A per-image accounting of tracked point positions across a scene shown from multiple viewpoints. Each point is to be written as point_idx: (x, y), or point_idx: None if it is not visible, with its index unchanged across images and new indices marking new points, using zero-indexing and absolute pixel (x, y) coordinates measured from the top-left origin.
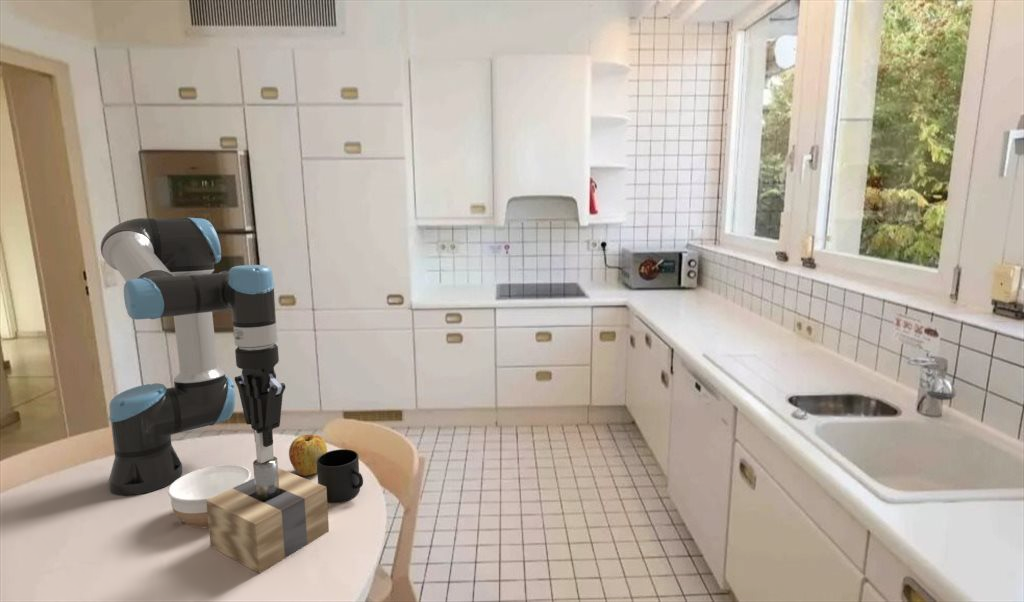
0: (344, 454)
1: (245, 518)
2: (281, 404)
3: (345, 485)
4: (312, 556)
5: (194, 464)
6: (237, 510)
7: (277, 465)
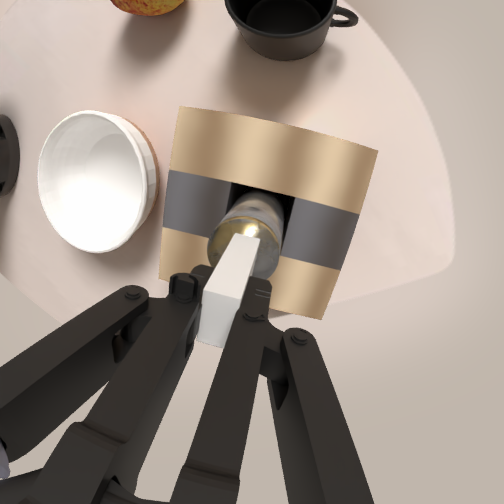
0: None
1: (287, 310)
2: (355, 452)
3: (323, 36)
4: (369, 216)
5: (6, 95)
6: None
7: (274, 228)
